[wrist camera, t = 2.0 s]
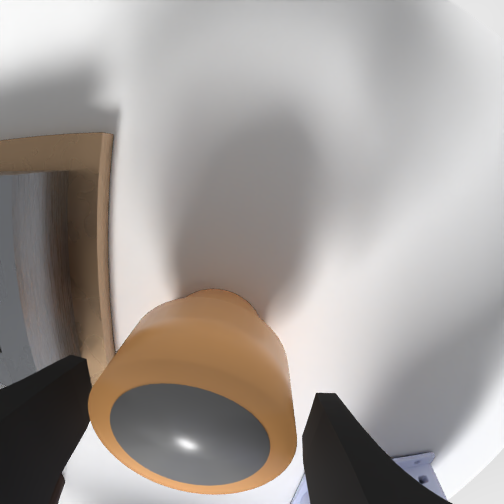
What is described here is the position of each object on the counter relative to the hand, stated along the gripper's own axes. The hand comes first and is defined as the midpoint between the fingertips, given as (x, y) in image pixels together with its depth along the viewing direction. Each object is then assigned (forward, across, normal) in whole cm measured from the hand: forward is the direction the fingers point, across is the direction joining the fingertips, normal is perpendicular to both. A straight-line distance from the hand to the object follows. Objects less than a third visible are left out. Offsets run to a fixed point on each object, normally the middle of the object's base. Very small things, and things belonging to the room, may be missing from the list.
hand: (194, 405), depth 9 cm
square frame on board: (+5, +11, -2) cm, 12 cm away
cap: (+5, 0, 0) cm, 5 cm away
